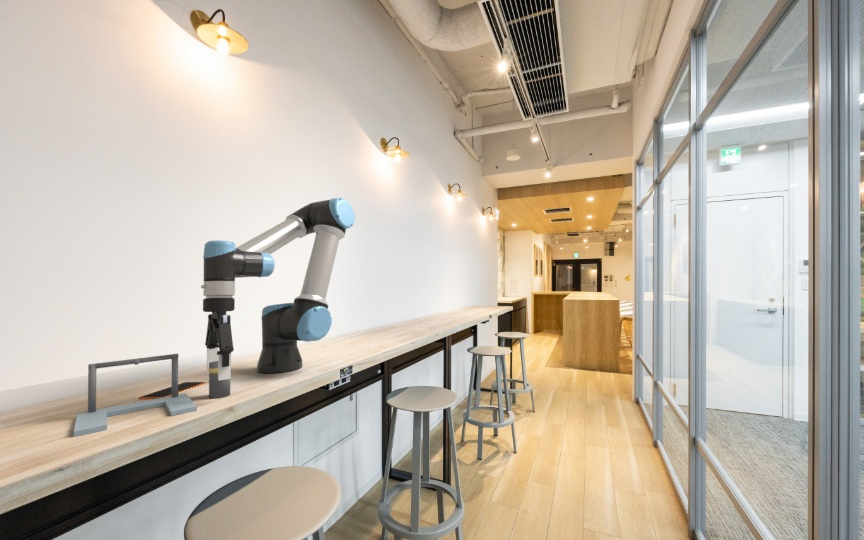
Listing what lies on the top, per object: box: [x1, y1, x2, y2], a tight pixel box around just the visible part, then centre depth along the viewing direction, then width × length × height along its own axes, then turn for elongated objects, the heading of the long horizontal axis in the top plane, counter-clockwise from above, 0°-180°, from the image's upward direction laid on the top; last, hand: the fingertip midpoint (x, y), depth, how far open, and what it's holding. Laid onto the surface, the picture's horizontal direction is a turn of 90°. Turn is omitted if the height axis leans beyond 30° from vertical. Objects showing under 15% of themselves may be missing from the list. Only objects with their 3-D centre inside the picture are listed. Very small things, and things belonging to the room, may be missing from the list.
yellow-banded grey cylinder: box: [208, 361, 231, 399], centre depth 100 cm, size 5×5×9 cm
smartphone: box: [138, 381, 207, 400], centre depth 106 cm, size 8×17×1 cm, turn 174°
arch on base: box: [73, 353, 198, 437], centre depth 86 cm, size 21×16×12 cm
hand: (218, 375), depth 99 cm, fingers open, 13 cm apart
